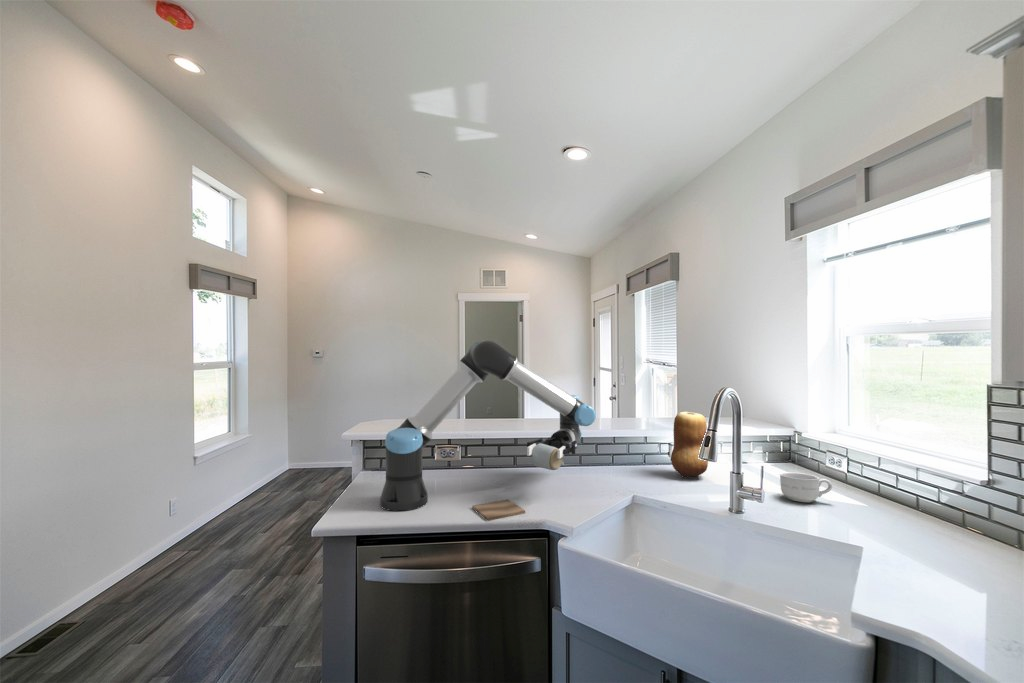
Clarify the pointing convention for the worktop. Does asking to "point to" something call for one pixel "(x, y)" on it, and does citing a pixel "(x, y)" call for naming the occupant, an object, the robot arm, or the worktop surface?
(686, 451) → the butternut squash
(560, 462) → the ceramic mug
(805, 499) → the teacup
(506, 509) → the walnut trivet
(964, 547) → the worktop surface
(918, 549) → the worktop surface
